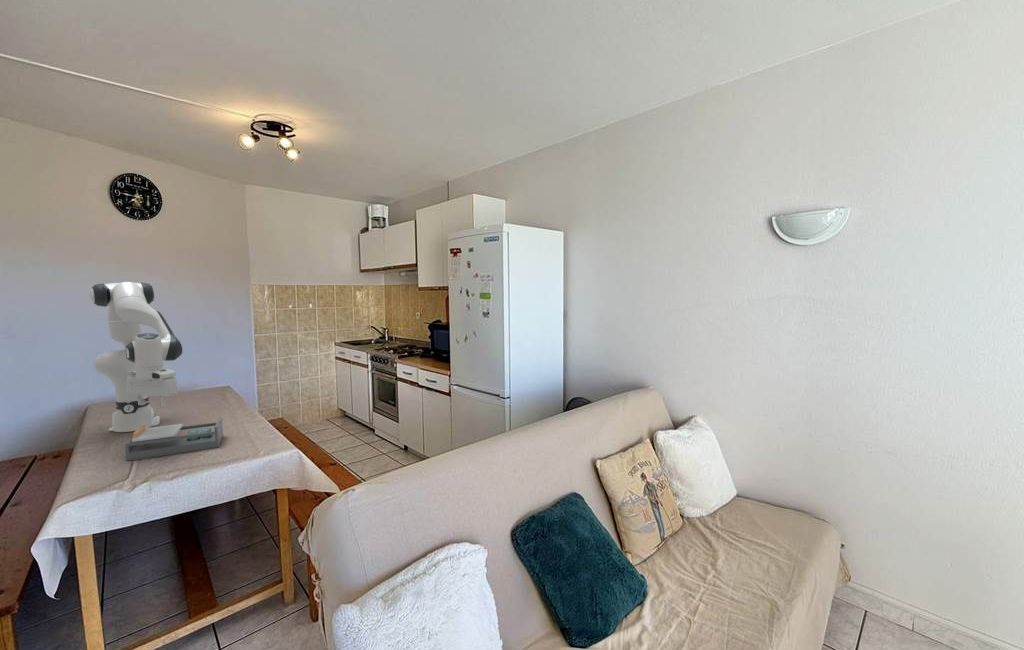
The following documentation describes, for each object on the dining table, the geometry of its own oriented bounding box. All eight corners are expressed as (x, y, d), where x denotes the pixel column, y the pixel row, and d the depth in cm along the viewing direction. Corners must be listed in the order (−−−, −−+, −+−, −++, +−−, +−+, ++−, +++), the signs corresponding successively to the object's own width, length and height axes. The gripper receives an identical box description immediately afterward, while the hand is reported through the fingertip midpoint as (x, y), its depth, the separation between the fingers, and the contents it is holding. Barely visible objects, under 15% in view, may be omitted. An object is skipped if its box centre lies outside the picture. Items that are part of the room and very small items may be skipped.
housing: (138, 448, 176) (136, 427, 175) (223, 436, 190) (222, 417, 190) (126, 460, 163) (124, 438, 162) (218, 447, 177) (217, 426, 176)
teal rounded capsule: (190, 444, 180) (189, 430, 179) (200, 443, 182) (199, 428, 181) (188, 447, 177) (187, 432, 176) (198, 446, 179) (197, 431, 178)
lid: (143, 430, 176) (143, 423, 176) (183, 425, 183) (182, 419, 183) (132, 442, 163) (131, 434, 163) (175, 436, 170) (174, 429, 170)
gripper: (119, 373, 168) (121, 406, 169) (165, 375, 166) (167, 408, 168) (135, 370, 174) (137, 402, 176) (179, 372, 173) (181, 404, 174)
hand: (152, 405), depth 172 cm, fingers open, 8 cm apart
